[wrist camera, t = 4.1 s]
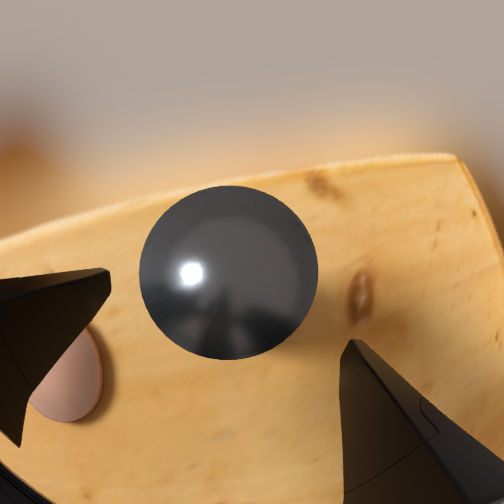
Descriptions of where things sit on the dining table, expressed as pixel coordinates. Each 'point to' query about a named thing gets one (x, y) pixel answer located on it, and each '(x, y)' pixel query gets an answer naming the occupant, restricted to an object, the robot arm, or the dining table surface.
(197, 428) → the dining table surface
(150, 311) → the canister
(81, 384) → the soap bar
